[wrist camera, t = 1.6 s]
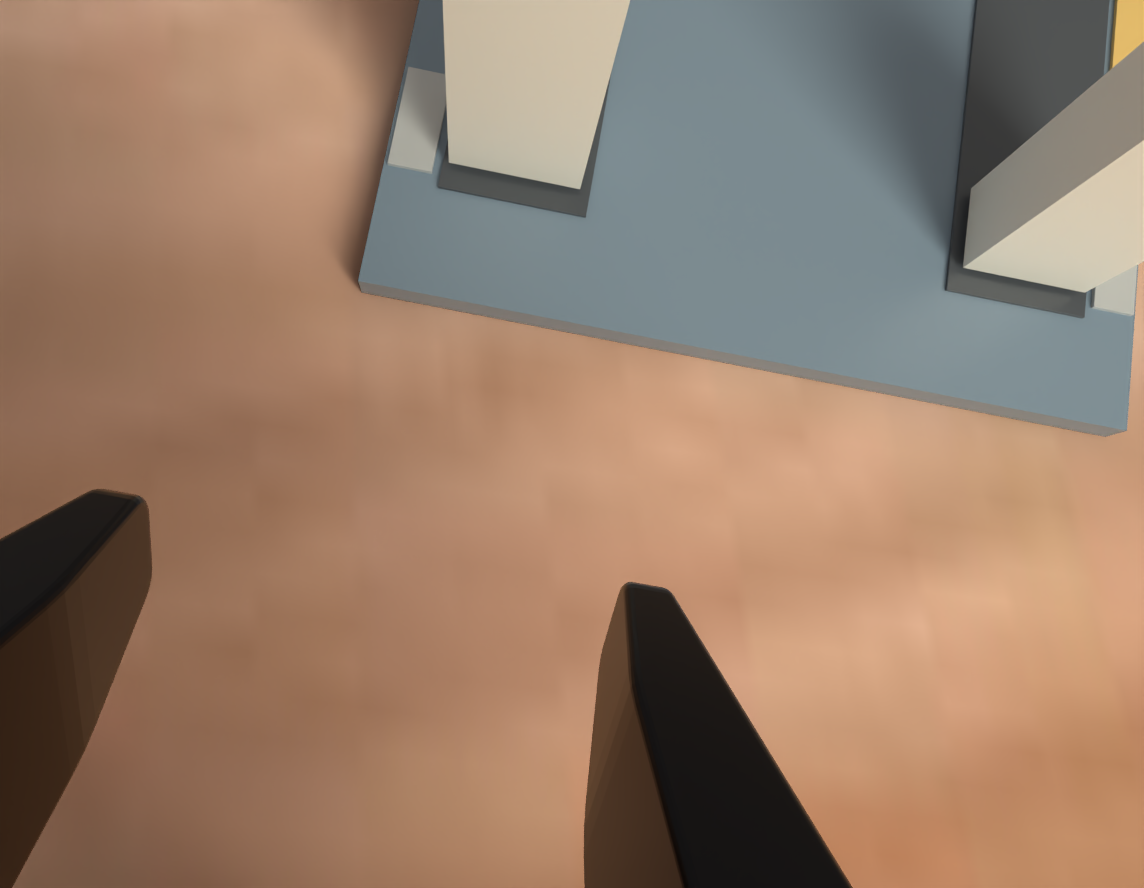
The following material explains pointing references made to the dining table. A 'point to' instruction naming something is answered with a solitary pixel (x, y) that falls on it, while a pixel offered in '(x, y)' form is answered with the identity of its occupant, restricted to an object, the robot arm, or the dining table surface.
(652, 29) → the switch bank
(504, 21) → the beige rectangular block
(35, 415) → the dining table surface
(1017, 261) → the cream tall block
